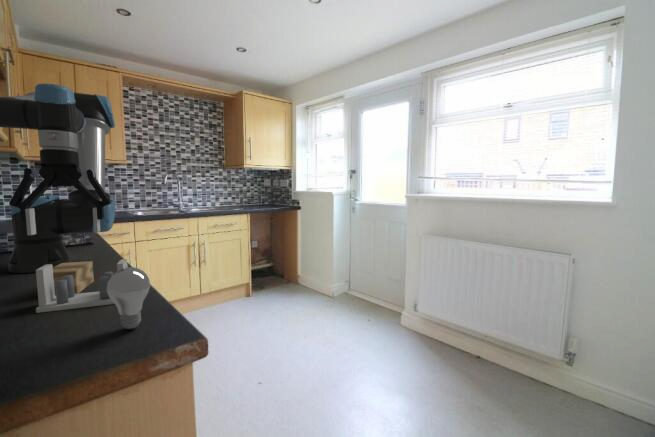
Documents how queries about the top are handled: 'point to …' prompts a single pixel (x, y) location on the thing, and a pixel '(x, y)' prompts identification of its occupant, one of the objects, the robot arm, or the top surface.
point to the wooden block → (75, 274)
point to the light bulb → (128, 294)
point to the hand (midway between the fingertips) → (65, 233)
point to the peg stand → (69, 291)
